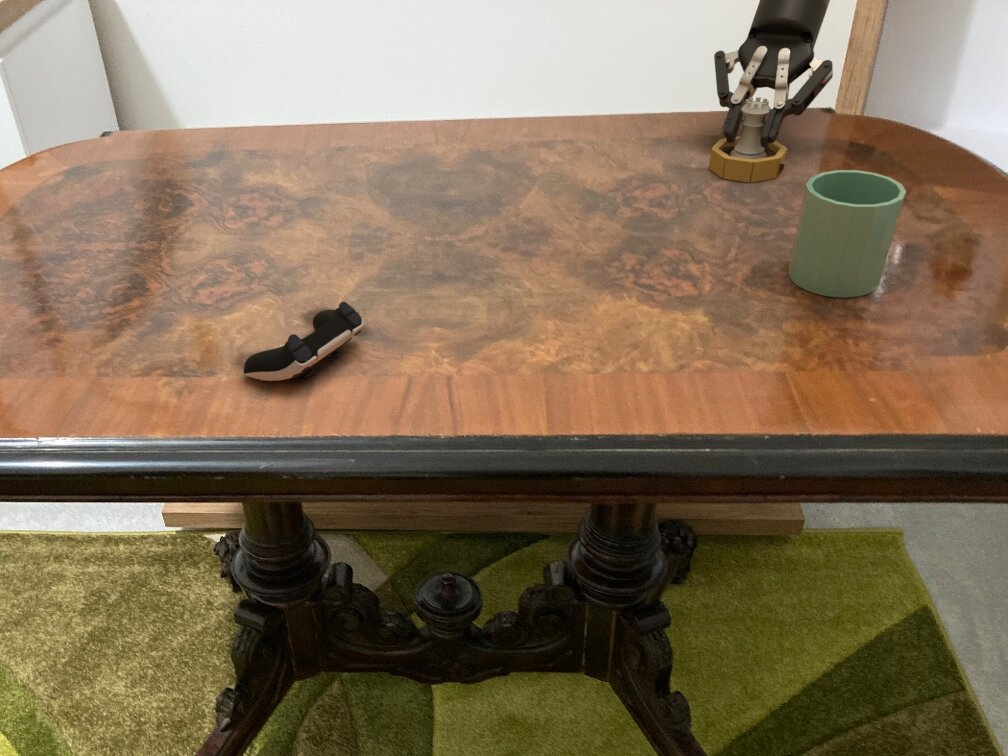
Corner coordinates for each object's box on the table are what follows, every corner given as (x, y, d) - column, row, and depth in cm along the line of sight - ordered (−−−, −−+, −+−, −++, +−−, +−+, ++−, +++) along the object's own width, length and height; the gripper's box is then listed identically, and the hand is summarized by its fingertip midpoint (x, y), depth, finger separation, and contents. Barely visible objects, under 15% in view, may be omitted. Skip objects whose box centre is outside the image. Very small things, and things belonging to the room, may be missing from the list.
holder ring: (789, 161, 111) (793, 141, 109) (771, 186, 106) (774, 165, 104) (722, 152, 114) (725, 132, 113) (702, 175, 109) (705, 155, 108)
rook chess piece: (737, 178, 108) (748, 109, 103) (719, 164, 112) (730, 97, 107) (772, 172, 109) (785, 104, 104) (754, 159, 112) (765, 92, 107)
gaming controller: (266, 408, 81) (299, 380, 76) (235, 368, 81) (266, 336, 75) (345, 352, 88) (382, 322, 82) (317, 314, 87) (351, 281, 82)
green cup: (887, 267, 89) (913, 177, 84) (870, 305, 84) (896, 212, 79) (800, 251, 93) (818, 164, 87) (778, 286, 88) (796, 197, 82)
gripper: (858, 25, 107) (810, 165, 107) (736, 17, 113) (690, 148, 113) (859, -14, 100) (808, 135, 100) (729, -21, 106) (681, 119, 106)
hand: (746, 141), depth 106 cm, fingers closed on rook chess piece, 3 cm apart
